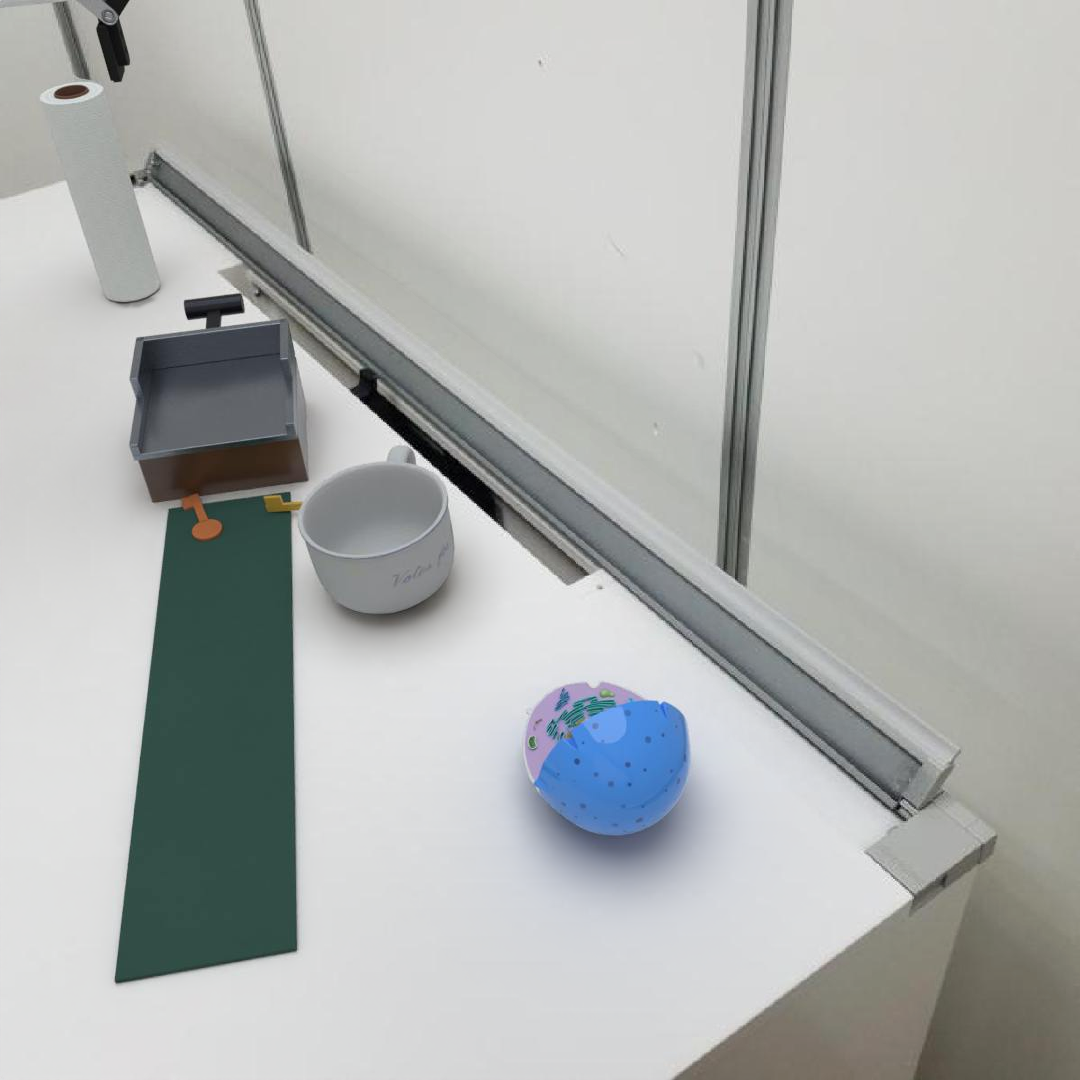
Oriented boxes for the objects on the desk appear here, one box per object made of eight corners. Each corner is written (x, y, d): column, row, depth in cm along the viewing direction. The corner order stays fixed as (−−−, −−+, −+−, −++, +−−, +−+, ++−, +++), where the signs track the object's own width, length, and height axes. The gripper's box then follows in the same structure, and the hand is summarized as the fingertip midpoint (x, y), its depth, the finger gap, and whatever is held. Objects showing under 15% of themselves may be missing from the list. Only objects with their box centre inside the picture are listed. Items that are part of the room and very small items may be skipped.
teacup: (422, 649, 82) (409, 566, 77) (289, 617, 85) (267, 535, 80) (495, 528, 91) (487, 447, 86) (373, 502, 95) (359, 423, 89)
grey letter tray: (151, 342, 105) (138, 301, 102) (294, 324, 106) (285, 283, 104) (134, 461, 92) (119, 418, 89) (297, 439, 93) (287, 395, 90)
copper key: (195, 542, 91) (196, 544, 91) (225, 532, 92) (226, 535, 92) (179, 498, 95) (180, 501, 96) (207, 490, 96) (208, 492, 96)
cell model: (633, 699, 77) (634, 597, 71) (719, 838, 69) (729, 736, 63) (494, 746, 75) (483, 645, 69) (566, 897, 66) (560, 797, 60)
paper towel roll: (139, 307, 121) (76, 104, 107) (92, 299, 123) (24, 99, 109) (178, 275, 126) (123, 77, 112) (133, 268, 128) (73, 72, 114)
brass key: (335, 490, 92) (334, 493, 92) (343, 513, 94) (342, 516, 93) (262, 495, 93) (261, 497, 93) (271, 518, 95) (270, 520, 94)
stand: (163, 421, 105) (148, 375, 102) (305, 402, 106) (295, 356, 103) (152, 502, 96) (135, 454, 93) (308, 480, 97) (297, 432, 94)
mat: (169, 511, 95) (168, 508, 95) (290, 494, 96) (290, 491, 96) (115, 983, 64) (114, 980, 64) (297, 950, 65) (295, 947, 64)
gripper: (109, -205, 78) (174, 54, 89) (-157, -183, 76) (-57, 78, 88) (96, -186, 72) (167, 88, 84) (-191, -162, 71) (-80, 114, 82)
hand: (52, 83), depth 86 cm, fingers open, 9 cm apart
